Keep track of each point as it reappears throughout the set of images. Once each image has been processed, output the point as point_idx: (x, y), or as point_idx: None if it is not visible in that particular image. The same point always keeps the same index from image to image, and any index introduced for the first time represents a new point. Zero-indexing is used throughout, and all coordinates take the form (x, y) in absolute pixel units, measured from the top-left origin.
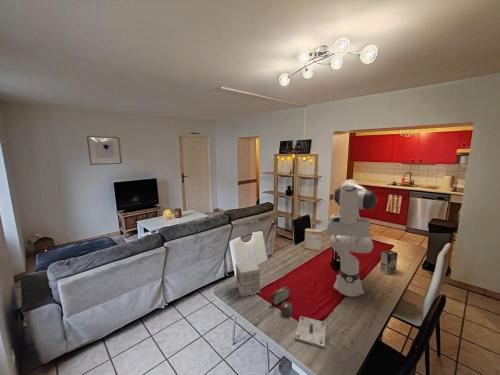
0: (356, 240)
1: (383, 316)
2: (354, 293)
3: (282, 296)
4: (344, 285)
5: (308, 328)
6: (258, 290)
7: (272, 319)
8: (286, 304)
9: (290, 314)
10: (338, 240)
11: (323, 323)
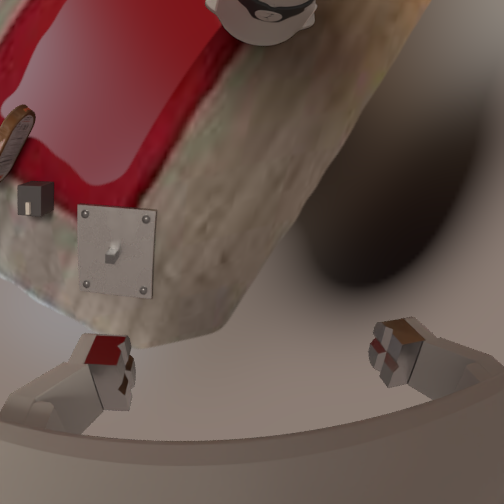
0: (418, 342)
1: (341, 132)
2: (277, 38)
3: (13, 146)
4: (244, 20)
5: (106, 250)
6: None
7: (16, 233)
8: (26, 203)
9: (51, 204)
10: (120, 407)
11: (146, 220)
